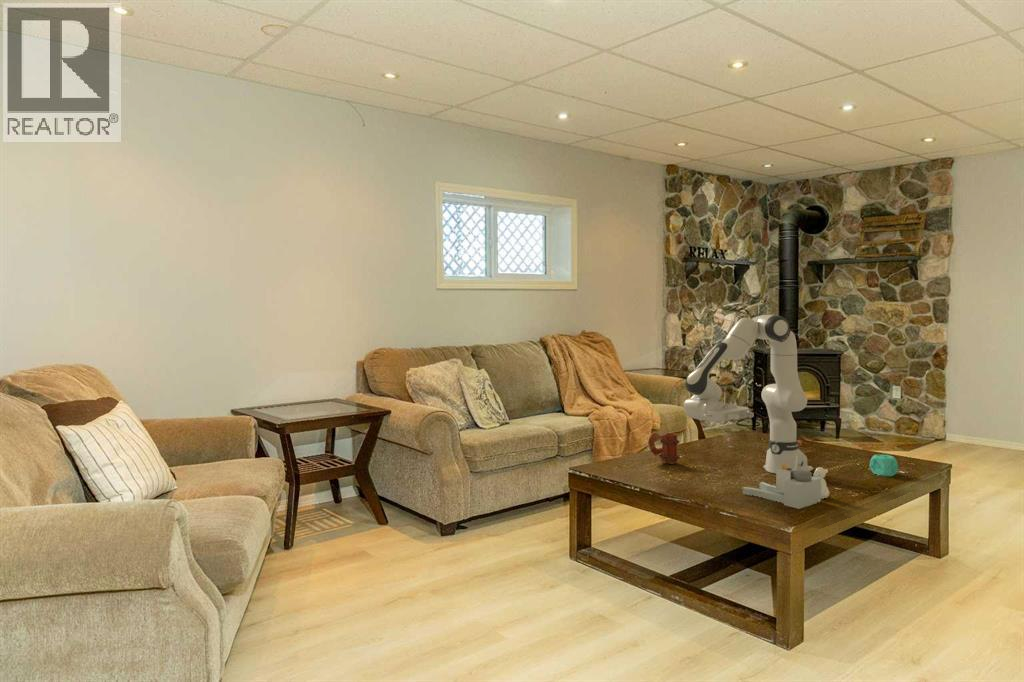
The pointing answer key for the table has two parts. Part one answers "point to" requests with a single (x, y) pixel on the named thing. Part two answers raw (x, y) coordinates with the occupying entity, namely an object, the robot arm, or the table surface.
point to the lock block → (783, 477)
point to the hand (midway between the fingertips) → (745, 416)
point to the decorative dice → (883, 465)
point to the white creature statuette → (822, 481)
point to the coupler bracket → (792, 490)
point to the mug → (665, 447)
